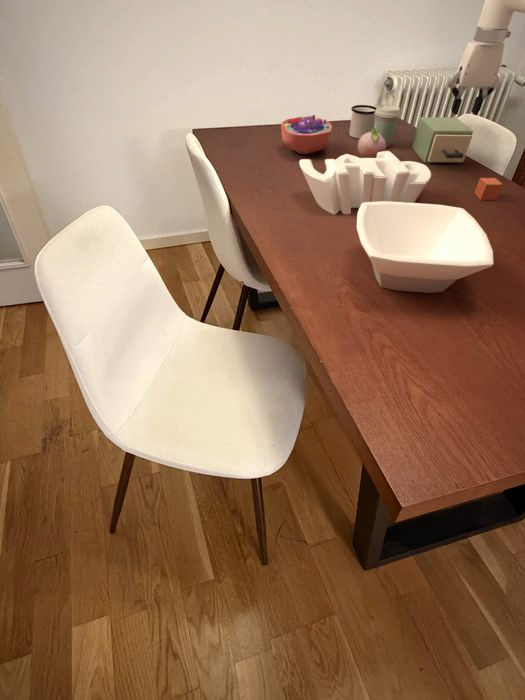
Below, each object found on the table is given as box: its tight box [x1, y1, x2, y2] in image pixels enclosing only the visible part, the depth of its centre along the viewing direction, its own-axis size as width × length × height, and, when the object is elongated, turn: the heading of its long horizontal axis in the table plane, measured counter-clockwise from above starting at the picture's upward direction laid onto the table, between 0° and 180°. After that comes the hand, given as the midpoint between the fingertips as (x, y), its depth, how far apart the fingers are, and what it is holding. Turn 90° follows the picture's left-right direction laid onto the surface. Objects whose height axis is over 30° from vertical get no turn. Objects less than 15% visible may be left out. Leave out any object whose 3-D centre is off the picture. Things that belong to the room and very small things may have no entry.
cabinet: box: [411, 116, 474, 164], centre depth 134 cm, size 15×13×10 cm
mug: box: [348, 104, 377, 140], centre depth 148 cm, size 12×10×9 cm
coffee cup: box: [373, 104, 401, 149], centre depth 139 cm, size 8×8×12 cm
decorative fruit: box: [357, 129, 386, 158], centre depth 128 cm, size 9×8×10 cm
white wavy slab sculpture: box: [299, 150, 432, 215], centre depth 107 cm, size 35×16×11 cm, turn 91°
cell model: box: [280, 114, 333, 155], centre depth 134 cm, size 17×20×11 cm
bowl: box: [356, 201, 494, 294], centre depth 82 cm, size 24×25×10 cm
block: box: [473, 177, 503, 201], centre depth 112 cm, size 4×4×4 cm
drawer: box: [428, 134, 473, 163], centre depth 130 cm, size 18×11×8 cm, turn 1°
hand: (464, 112), depth 119 cm, fingers open, 5 cm apart
